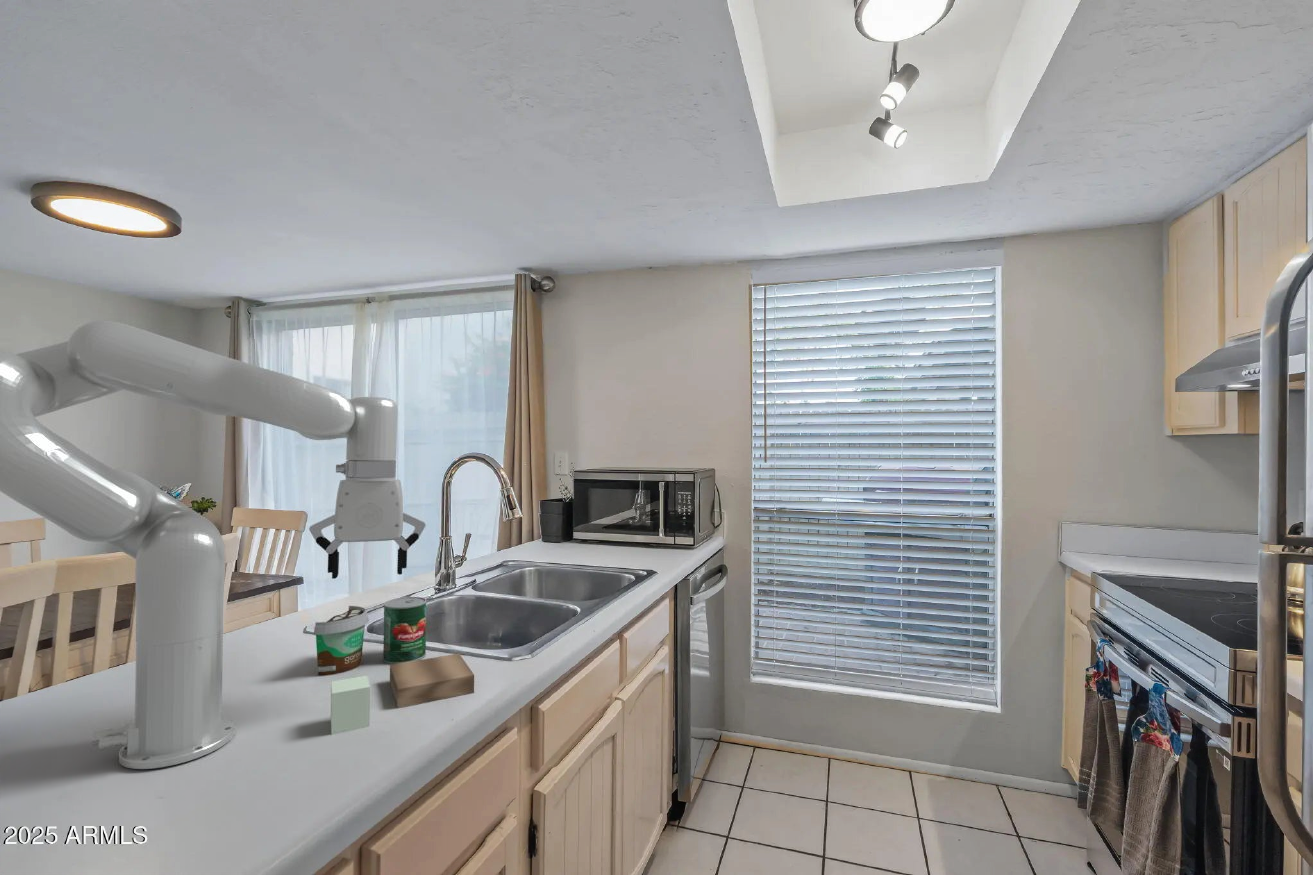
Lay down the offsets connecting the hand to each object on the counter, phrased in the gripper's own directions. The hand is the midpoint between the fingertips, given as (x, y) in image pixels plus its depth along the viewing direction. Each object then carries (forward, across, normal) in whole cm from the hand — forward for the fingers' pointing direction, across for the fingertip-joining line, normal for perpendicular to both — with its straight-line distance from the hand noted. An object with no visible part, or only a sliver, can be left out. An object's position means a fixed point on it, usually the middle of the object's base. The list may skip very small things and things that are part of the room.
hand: (368, 574), depth 98 cm
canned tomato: (+21, +6, +19) cm, 29 cm away
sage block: (+21, -2, -8) cm, 22 cm away
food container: (+21, -3, +18) cm, 28 cm away
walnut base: (+21, +10, +2) cm, 23 cm away
